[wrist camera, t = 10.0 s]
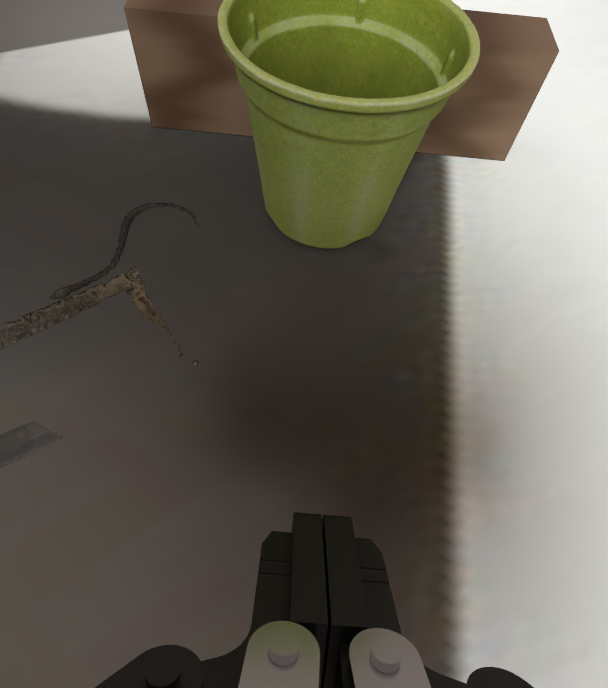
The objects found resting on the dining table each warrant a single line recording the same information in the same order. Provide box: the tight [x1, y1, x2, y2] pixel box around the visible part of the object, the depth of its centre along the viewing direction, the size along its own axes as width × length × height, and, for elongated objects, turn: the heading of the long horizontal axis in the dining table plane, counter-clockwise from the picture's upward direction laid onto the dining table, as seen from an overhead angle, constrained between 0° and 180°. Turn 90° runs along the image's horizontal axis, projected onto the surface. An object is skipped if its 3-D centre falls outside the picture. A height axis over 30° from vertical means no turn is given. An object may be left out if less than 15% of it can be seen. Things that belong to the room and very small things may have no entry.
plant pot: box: [218, 0, 480, 248], centre depth 21 cm, size 9×9×9 cm
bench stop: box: [124, 0, 559, 161], centre depth 24 cm, size 20×3×9 cm, turn 86°
